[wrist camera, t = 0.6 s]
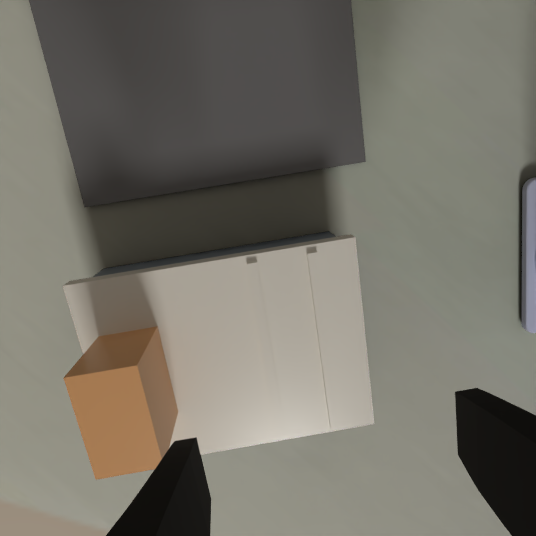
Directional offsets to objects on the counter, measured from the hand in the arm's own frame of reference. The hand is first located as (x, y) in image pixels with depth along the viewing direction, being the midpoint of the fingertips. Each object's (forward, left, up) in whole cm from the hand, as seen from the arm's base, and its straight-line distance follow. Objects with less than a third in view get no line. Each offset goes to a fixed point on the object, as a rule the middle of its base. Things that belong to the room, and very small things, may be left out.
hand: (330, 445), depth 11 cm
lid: (+3, 0, -8) cm, 8 cm away
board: (+2, -11, -10) cm, 15 cm away
